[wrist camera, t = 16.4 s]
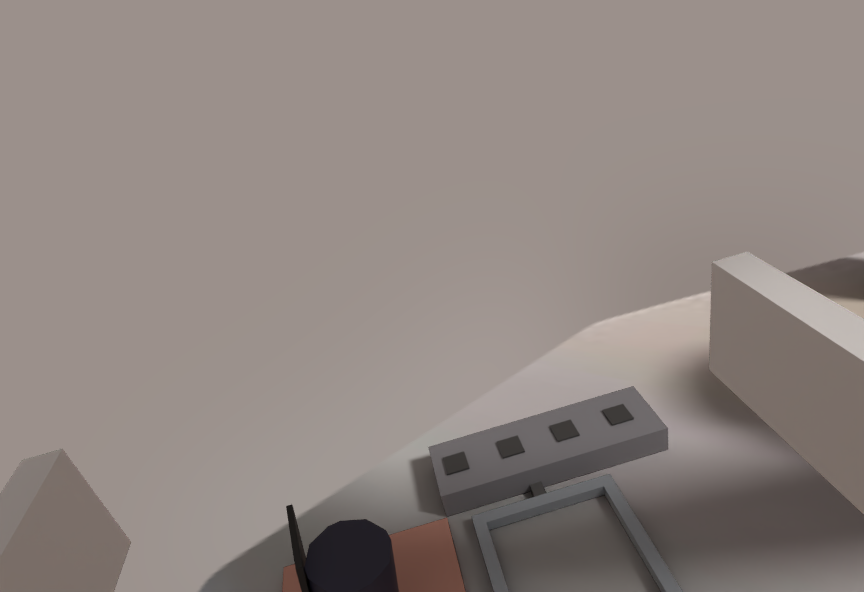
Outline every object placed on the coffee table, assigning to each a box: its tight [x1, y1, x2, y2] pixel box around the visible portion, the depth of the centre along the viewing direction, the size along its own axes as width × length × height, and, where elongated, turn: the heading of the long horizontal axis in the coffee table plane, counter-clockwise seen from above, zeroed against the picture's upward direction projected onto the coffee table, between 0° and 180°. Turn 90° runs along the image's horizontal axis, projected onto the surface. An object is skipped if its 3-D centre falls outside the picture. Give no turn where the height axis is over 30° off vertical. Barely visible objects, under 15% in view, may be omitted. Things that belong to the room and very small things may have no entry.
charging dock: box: [429, 386, 683, 592], centre depth 45 cm, size 20×20×3 cm
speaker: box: [286, 505, 399, 592], centre depth 38 cm, size 8×6×10 cm
